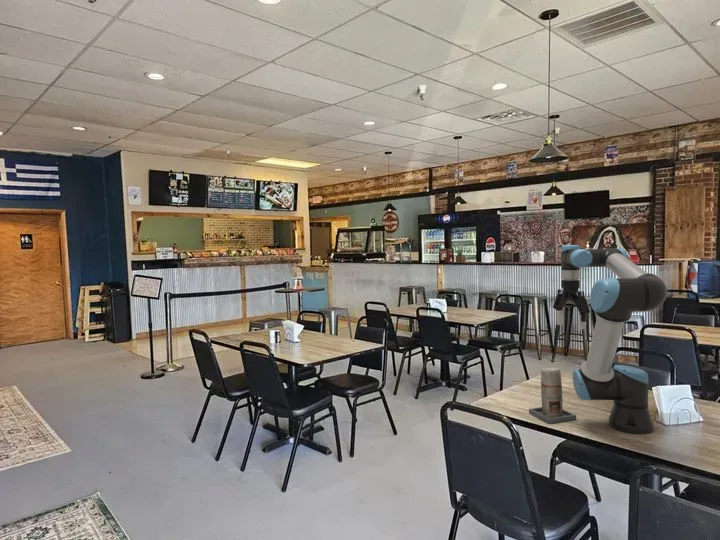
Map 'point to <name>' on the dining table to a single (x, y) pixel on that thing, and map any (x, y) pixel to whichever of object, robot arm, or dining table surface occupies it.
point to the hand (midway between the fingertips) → (570, 326)
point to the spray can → (551, 392)
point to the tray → (565, 418)
